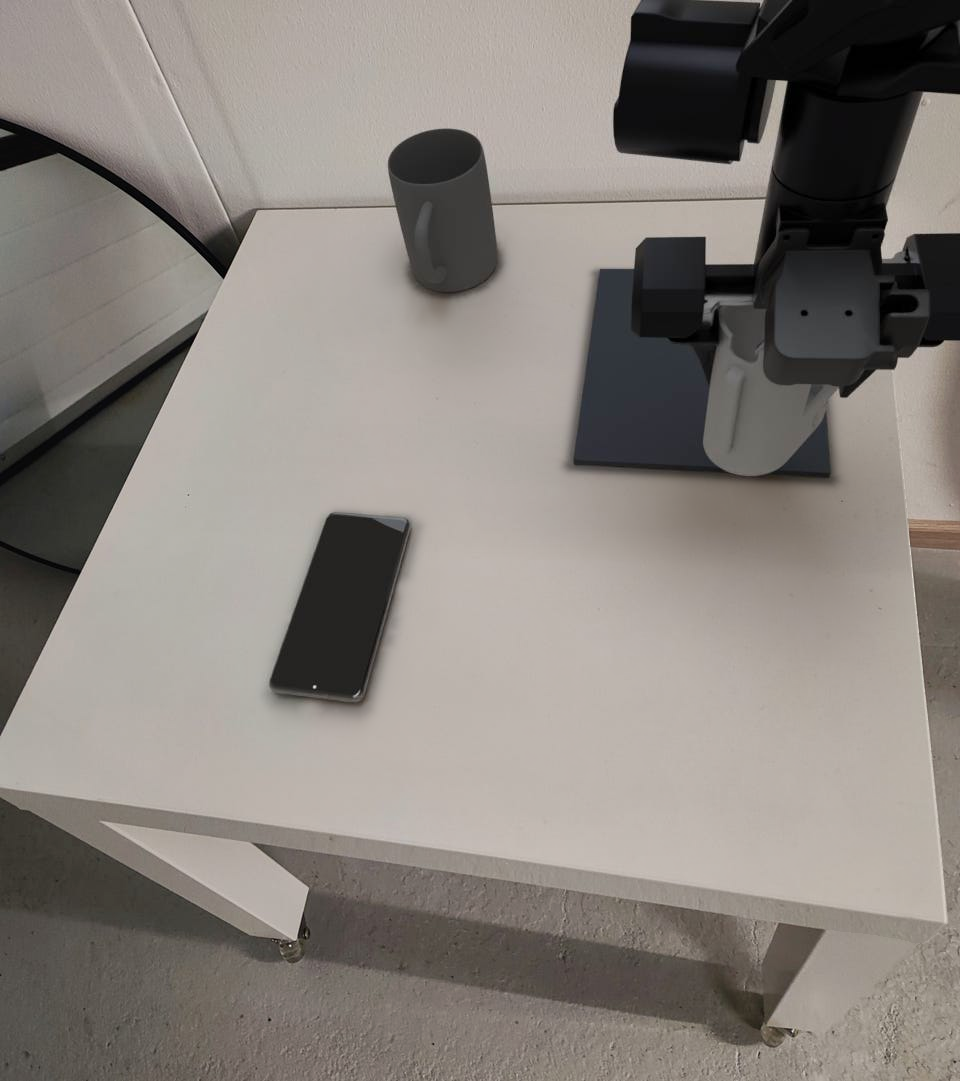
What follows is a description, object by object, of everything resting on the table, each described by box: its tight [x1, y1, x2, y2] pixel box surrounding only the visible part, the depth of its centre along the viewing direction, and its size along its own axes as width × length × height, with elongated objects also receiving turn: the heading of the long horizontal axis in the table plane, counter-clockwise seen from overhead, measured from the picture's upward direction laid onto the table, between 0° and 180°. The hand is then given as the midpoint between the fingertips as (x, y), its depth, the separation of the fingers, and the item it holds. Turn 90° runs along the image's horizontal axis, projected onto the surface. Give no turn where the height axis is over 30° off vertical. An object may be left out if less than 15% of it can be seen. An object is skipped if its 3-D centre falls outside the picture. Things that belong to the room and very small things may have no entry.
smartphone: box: [268, 511, 412, 703], centre depth 62 cm, size 7×1×16 cm
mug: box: [387, 127, 498, 293], centre depth 77 cm, size 14×9×12 cm
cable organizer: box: [703, 306, 839, 477], centre depth 52 cm, size 7×12×12 cm, turn 137°
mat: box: [573, 268, 832, 478], centre depth 71 cm, size 20×24×1 cm
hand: (777, 391), depth 52 cm, fingers closed on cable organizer, 7 cm apart
